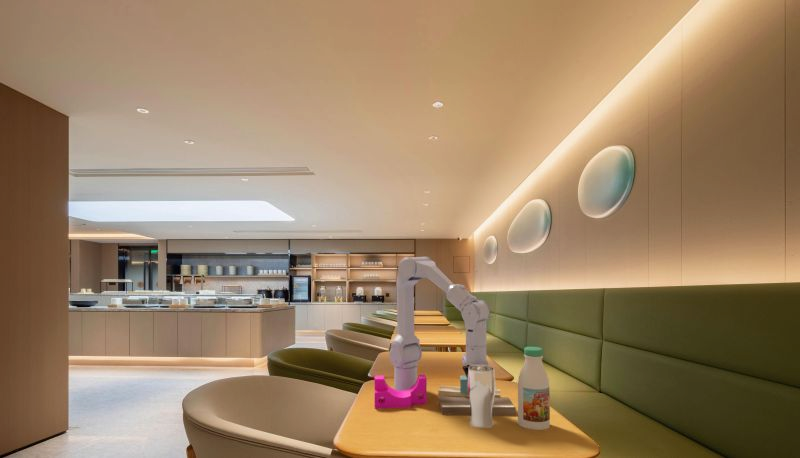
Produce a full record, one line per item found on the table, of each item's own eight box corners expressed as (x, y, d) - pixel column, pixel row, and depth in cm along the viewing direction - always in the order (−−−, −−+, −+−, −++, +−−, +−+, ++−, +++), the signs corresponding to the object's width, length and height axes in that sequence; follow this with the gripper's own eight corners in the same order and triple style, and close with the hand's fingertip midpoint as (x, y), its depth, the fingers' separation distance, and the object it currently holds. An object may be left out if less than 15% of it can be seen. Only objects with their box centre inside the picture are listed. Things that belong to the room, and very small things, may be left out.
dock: (439, 404, 133) (439, 396, 133) (508, 404, 133) (508, 396, 133) (441, 414, 125) (441, 406, 125) (515, 414, 125) (515, 407, 125)
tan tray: (440, 395, 142) (440, 385, 142) (500, 399, 138) (500, 389, 138) (438, 400, 137) (438, 390, 137) (500, 405, 133) (500, 395, 134)
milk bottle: (512, 427, 117) (512, 348, 117) (527, 419, 122) (526, 343, 123) (541, 436, 111) (540, 353, 112) (555, 427, 117) (554, 347, 118)
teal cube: (460, 388, 139) (460, 375, 139) (473, 389, 139) (473, 375, 139) (460, 393, 135) (460, 379, 135) (474, 393, 135) (474, 379, 135)
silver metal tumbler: (478, 435, 112) (478, 373, 112) (462, 425, 118) (462, 366, 119) (501, 430, 115) (501, 369, 116) (483, 420, 122) (483, 362, 122)
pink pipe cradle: (374, 408, 130) (374, 381, 131) (374, 400, 137) (374, 375, 137) (427, 407, 131) (427, 381, 131) (425, 400, 138) (425, 374, 138)
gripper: (452, 340, 136) (452, 386, 135) (474, 351, 122) (474, 403, 121) (474, 338, 138) (474, 384, 137) (498, 349, 124) (498, 401, 123)
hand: (476, 393), depth 130 cm, fingers closed
